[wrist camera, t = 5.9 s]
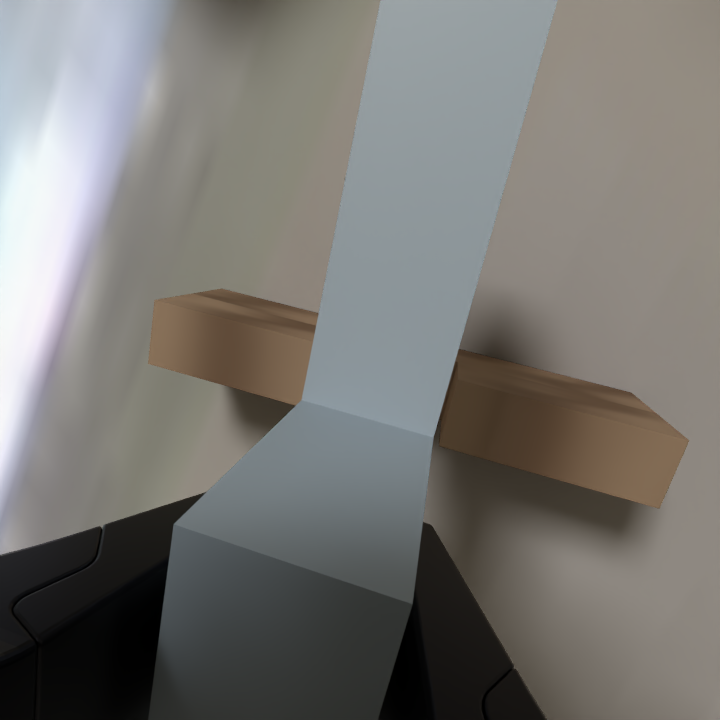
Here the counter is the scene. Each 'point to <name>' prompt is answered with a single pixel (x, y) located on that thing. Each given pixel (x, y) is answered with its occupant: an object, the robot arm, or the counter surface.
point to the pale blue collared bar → (357, 391)
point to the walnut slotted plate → (461, 404)
